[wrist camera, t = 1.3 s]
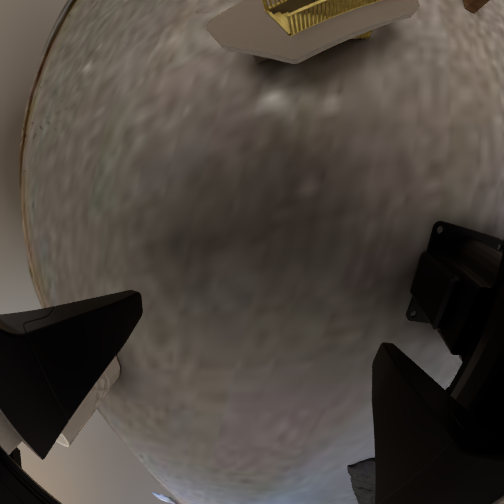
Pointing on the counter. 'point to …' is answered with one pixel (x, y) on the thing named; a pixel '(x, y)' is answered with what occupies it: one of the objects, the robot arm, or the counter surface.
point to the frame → (474, 4)
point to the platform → (301, 25)
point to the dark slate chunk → (363, 481)
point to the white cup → (90, 404)
